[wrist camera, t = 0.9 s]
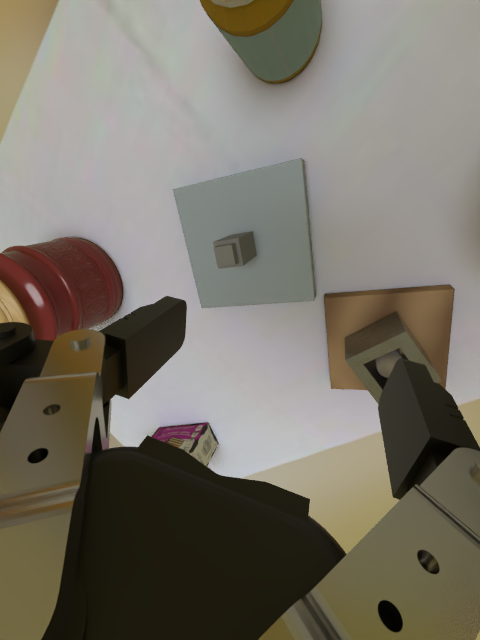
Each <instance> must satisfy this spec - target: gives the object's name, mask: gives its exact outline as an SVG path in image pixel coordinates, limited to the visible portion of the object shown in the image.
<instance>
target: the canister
mask: <svg viewBox="0 0 480 640" xmlns="http://www.w3.org/2000/svg"><path fill="white" fill-rule="evenodd" d="M121 300H122V284H121V280H120V277H119V274H118V271H117V269H116V267H115V265H114V264H113V262H112V261H111V259H110V258H109V257H108V255H107V254H106V253H105V252H104V251H103V250H102V249H101V248H99V247H98V246H97V245H95V244H94V243H92V242H90V241H88V240H85V239H81V238H71V237H65V238H58V239H54V240H52V241H50V242H44V243H39V244H33V245H27V246H13V247H9V248H7V249H6V250H4V251H3V252H2V253H0V323H5V322H22V323H26V324H29V325H30V326H31V327H32V329H33V334H34V338H35V339H40V340H51V341H54V340H55V339H56V338H57V337H59V336H60V335H62V334H64V333H67V332H70V331H74V330H81V329H89V328H91V327H93V326H94V325H98V324H101V323H103V322H104V321H106V320H108V319H109V318H110V317H111V316H112V315H113V314H114V313H115V312H116V311H117V310H118V308H119V306H120V304H121Z"/></svg>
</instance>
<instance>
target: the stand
mask: <svg viewBox="0 0 480 640" xmlns="http://www.w3.org/2000/svg"><path fill="white" fill-rule="evenodd" d="M454 290H455V289H454V288H453V287H452V286H450V285H438V286H425V287H411V288H398V289H385V290H371V291H358V292H345V293H331V294H325V296H324V303H325V316H326V328H327V341H328V354H329V367H330V379H331V389H356V390H367V388H366V387H365V386H364V384H363V383H362V382H361V380H360V379H359V378H358V376H357V375H356V374H355V373H354V371H353V370H352V369H351V367H350V366H349V365H348V363H347V362H346V361H345V337H347V336H349V335H351V334H352V333H354V332H356V331H358V330H360V329H362V328H364V327H366V326H368V325H370V324H372V323H374V322H375V321H377V320H379V319H381V318H383V317H385V316H387V315H389V314H391V313H393V312H395V311H397V312H398V314H399V315H400V316H401V318H402V319H403V321H404V322H405V323H406V325H407V326H408V328H409V329H410V331H411V332H412V333H413V335H414V336H415V338H416V339H417V340H418V342H419V343H420V345H421V346H422V347H423V349H424V350H425V352H426V353H427V355H428V357H429V358H430V360H431V362H432V364H433V366H434V368H435V370H436V372H437V374H438V376H439V378H440V379H441V382H439V384H440V385H441V386H442V387H443V388H444V389H445V386H446V375H447V365H448V354H449V343H450V333H451V322H452V311H453V301H454ZM401 354H403V351H402V350H401V349H400V348H398V349H396V350H394V351H391V352H389V353H387V354H385V355H383V356H380V357H378V358H376V359H374V360H375V361H376V366H377V370H378V372H379V373H380V374H381V375H382V376H384V377H386V378H389V376H390V374H391V372H392V369H393V367H394V365H395V363H396V362H397V360H398V359H400V358H402V357H401Z"/></svg>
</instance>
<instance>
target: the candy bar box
mask: <svg viewBox="0 0 480 640" xmlns="http://www.w3.org/2000/svg"><path fill="white" fill-rule="evenodd" d="M152 437H153V438H155V439H158V440H160V441H163V442H165V443H168V444H170V445H173V446H176V447H178V448H181V449H183V450H185V451H186V452H187V453H189V454H190V455H191V456H193V457H194V458H196V459H197V460H198V461H200V462H201V463H202V464H204V465H205V466H206V467H207V465H208V464H209V462H210V460H211V457H212V456H213V454H214V452H215V450H216V448H217V446H218V442H217V440H216V438H215V436H214V434H213V432H212V430H211V428H210V426H209V424H208V423H202V424H192V425H182V426H172V427H162V428H158V429H157V431H156V432H155V433H154V434H153V436H152Z"/></svg>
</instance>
